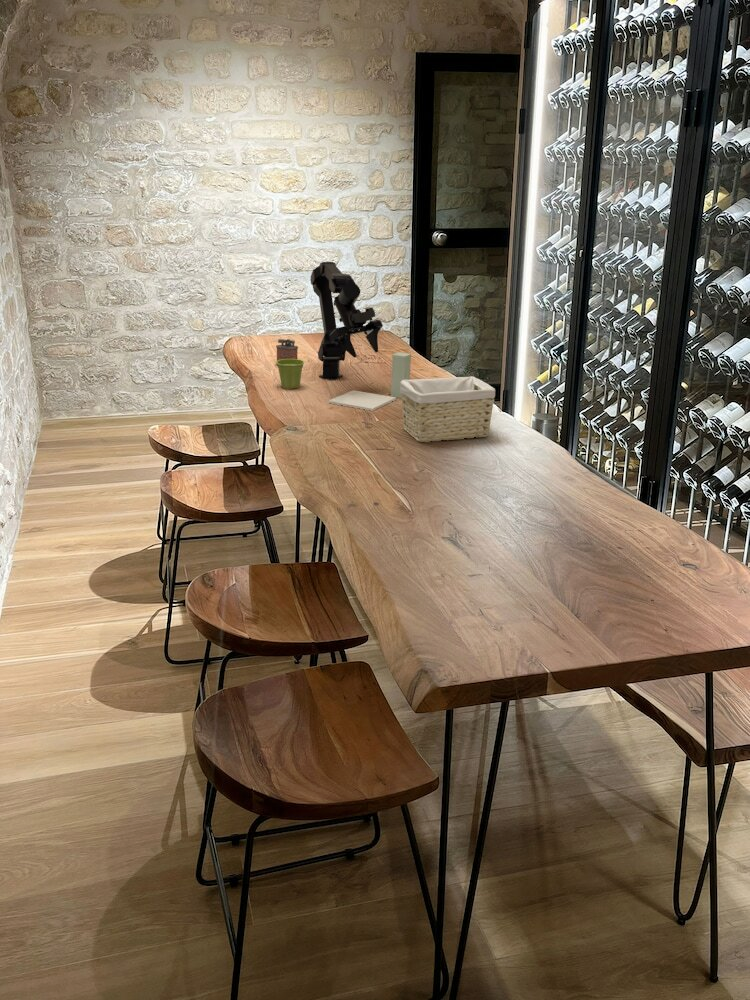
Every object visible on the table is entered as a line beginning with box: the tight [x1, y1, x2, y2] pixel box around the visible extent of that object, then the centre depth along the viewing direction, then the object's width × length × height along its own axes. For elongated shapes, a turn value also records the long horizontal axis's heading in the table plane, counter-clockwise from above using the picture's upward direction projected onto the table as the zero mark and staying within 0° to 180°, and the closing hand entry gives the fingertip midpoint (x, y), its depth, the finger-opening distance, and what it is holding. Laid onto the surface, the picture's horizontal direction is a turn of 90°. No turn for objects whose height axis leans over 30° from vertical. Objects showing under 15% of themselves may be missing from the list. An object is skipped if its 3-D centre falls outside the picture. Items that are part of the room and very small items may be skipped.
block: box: [390, 351, 412, 399], centre depth 285 cm, size 4×4×14 cm
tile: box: [327, 389, 397, 412], centre depth 279 cm, size 16×16×1 cm
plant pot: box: [275, 358, 305, 390], centre depth 292 cm, size 9×9×9 cm
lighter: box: [275, 338, 299, 367], centre depth 320 cm, size 8×3×10 cm, turn 84°
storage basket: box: [400, 375, 496, 443], centre depth 248 cm, size 24×16×15 cm
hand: (366, 354), depth 283 cm, fingers open, 9 cm apart
